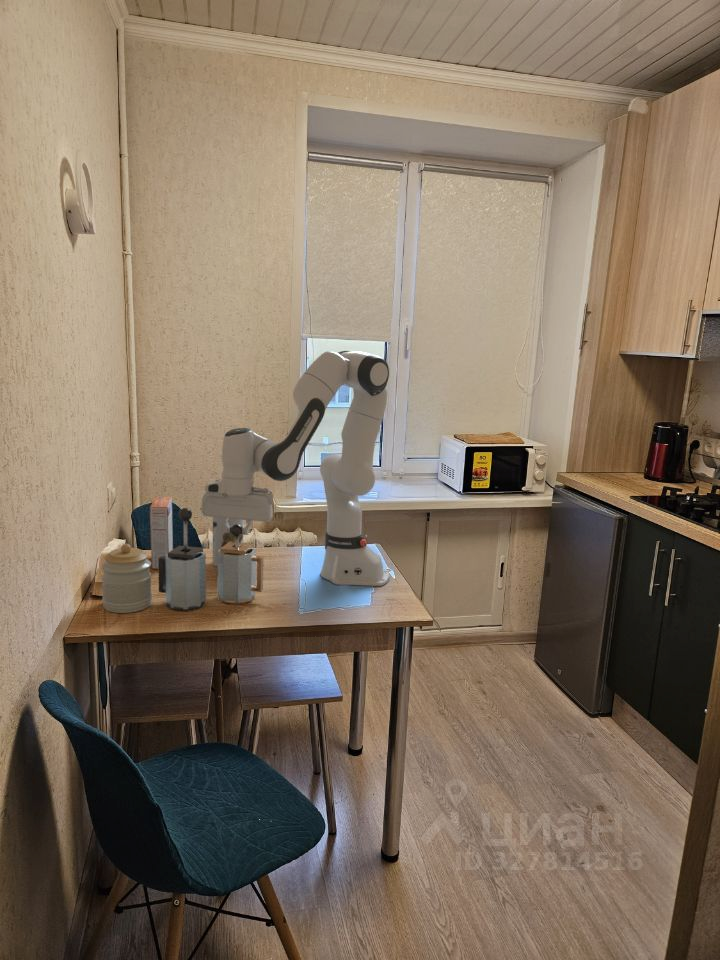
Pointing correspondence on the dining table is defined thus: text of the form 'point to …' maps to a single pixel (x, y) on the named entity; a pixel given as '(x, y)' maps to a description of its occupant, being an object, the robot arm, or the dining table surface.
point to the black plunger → (185, 524)
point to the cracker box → (161, 528)
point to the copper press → (238, 573)
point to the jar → (126, 580)
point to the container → (221, 535)
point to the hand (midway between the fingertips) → (236, 533)
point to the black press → (183, 578)
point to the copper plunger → (236, 533)
